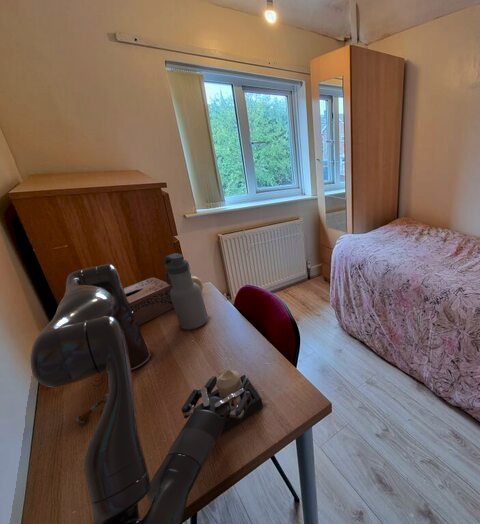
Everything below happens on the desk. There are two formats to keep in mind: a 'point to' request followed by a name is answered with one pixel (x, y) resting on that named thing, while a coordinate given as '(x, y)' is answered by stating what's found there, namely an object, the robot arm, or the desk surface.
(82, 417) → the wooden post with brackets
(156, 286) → the tissue box cover
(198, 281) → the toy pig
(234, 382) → the candle
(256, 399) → the pad
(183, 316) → the water bottle
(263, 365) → the desk surface
